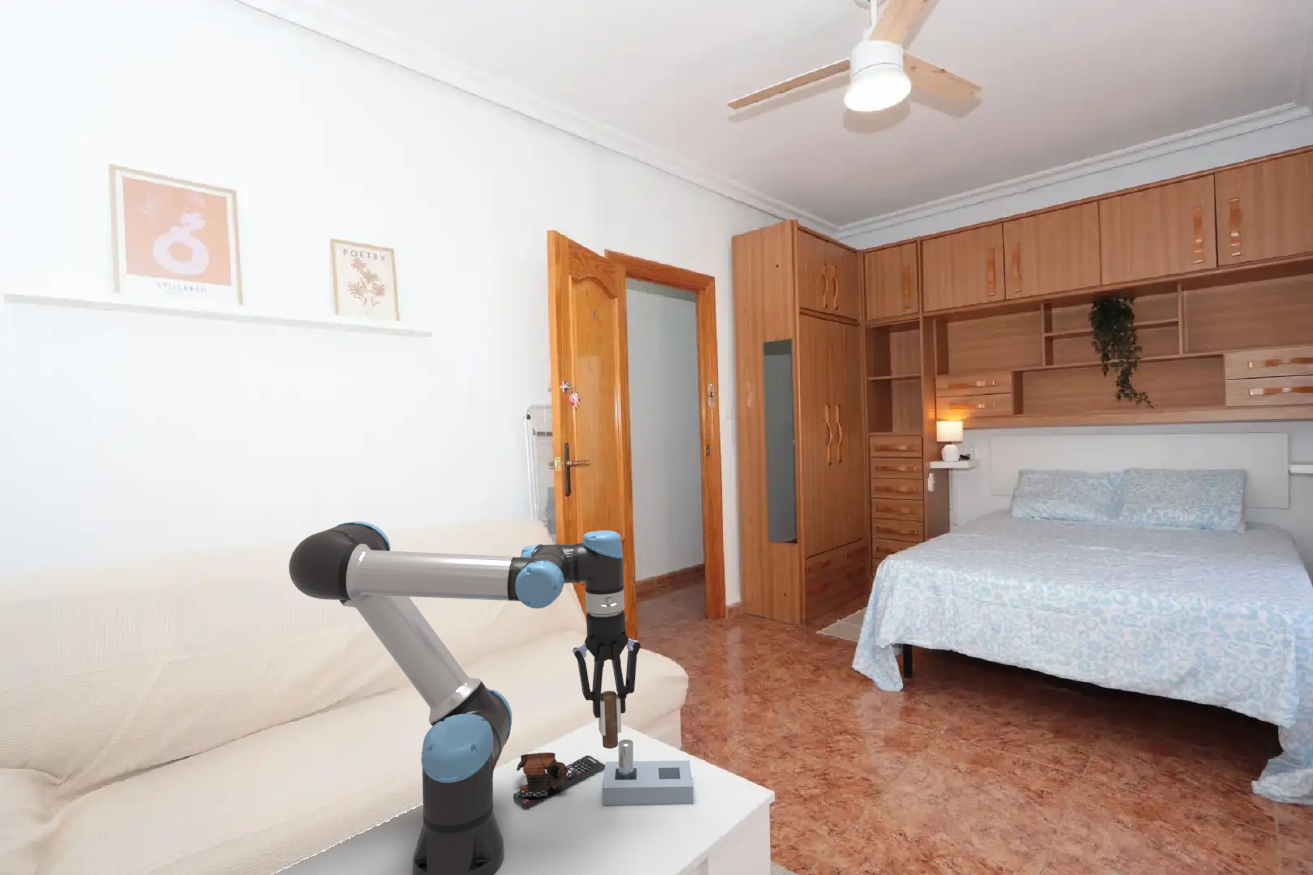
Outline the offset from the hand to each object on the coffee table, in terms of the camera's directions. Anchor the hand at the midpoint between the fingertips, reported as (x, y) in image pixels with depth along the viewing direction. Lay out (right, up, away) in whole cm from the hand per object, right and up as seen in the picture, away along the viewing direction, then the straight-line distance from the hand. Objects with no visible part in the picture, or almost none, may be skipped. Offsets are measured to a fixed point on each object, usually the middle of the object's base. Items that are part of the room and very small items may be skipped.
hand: (610, 730), depth 127 cm
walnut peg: (0, -3, 0) cm, 3 cm away
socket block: (+7, -16, +8) cm, 19 cm away
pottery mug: (-15, -16, +9) cm, 24 cm away
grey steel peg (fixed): (+3, -16, +8) cm, 18 cm away
